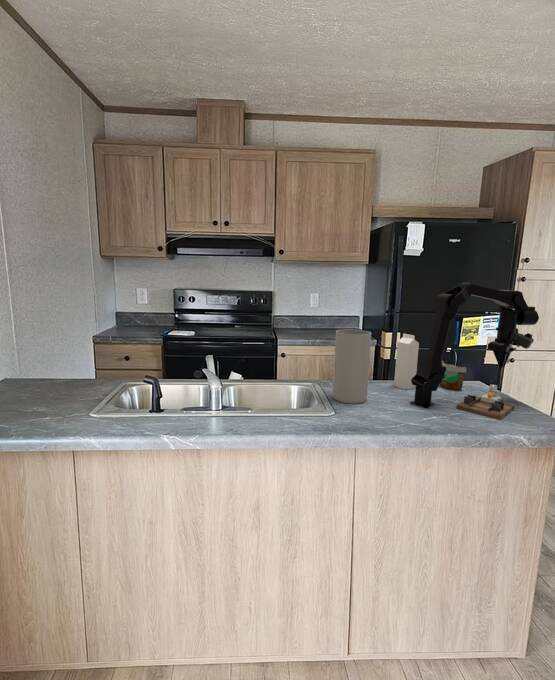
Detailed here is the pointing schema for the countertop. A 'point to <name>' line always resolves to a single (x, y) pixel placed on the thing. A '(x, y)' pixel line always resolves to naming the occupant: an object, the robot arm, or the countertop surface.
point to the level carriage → (491, 395)
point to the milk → (406, 361)
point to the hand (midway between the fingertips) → (501, 367)
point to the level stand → (485, 407)
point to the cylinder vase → (351, 365)
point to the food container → (453, 377)
